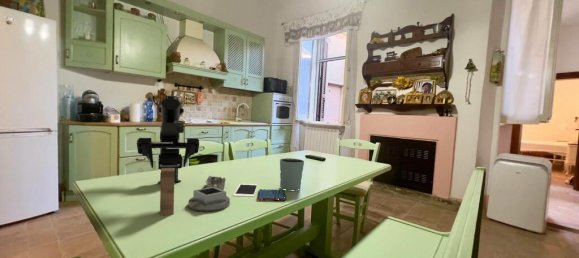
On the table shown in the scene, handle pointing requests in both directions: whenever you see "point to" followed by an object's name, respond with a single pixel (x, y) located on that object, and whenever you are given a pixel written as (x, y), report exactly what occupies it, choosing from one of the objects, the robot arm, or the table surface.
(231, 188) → the table surface
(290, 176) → the grey cup
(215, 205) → the rosette socket
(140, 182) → the table surface
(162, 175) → the brown wooden square peg
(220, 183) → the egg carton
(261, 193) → the woven mat
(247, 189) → the cell phone
